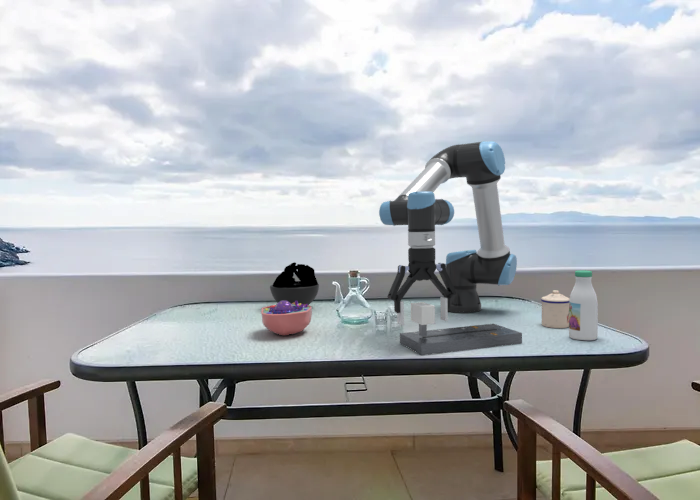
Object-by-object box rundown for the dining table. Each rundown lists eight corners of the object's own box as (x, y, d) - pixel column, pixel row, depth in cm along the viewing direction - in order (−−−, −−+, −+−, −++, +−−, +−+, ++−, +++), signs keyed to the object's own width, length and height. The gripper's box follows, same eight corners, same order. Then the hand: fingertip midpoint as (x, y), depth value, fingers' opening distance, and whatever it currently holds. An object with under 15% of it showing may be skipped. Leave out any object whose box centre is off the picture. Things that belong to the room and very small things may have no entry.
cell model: (320, 327, 174) (319, 294, 173) (303, 341, 154) (302, 304, 153) (273, 326, 177) (272, 294, 176) (250, 340, 158) (249, 303, 157)
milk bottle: (595, 335, 153) (596, 269, 151) (599, 341, 145) (599, 272, 144) (567, 334, 155) (568, 269, 154) (569, 340, 148) (570, 272, 147)
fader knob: (411, 333, 146) (410, 303, 145) (423, 332, 147) (423, 302, 147) (422, 338, 139) (421, 307, 139) (435, 337, 141) (434, 305, 140)
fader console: (399, 343, 149) (399, 332, 149) (493, 333, 159) (493, 323, 159) (421, 355, 136) (421, 343, 135) (522, 343, 146) (522, 332, 146)
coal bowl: (308, 314, 197) (307, 266, 195) (262, 312, 203) (260, 265, 202) (326, 305, 216) (325, 261, 214) (283, 304, 222) (282, 261, 220)
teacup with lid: (574, 328, 162) (574, 292, 162) (545, 328, 163) (545, 292, 163) (563, 321, 174) (563, 287, 174) (535, 321, 175) (535, 287, 175)
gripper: (385, 249, 134) (387, 328, 136) (467, 245, 142) (468, 320, 144) (375, 248, 141) (376, 323, 143) (454, 244, 149) (454, 316, 151)
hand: (422, 322), depth 143 cm, fingers open, 13 cm apart
